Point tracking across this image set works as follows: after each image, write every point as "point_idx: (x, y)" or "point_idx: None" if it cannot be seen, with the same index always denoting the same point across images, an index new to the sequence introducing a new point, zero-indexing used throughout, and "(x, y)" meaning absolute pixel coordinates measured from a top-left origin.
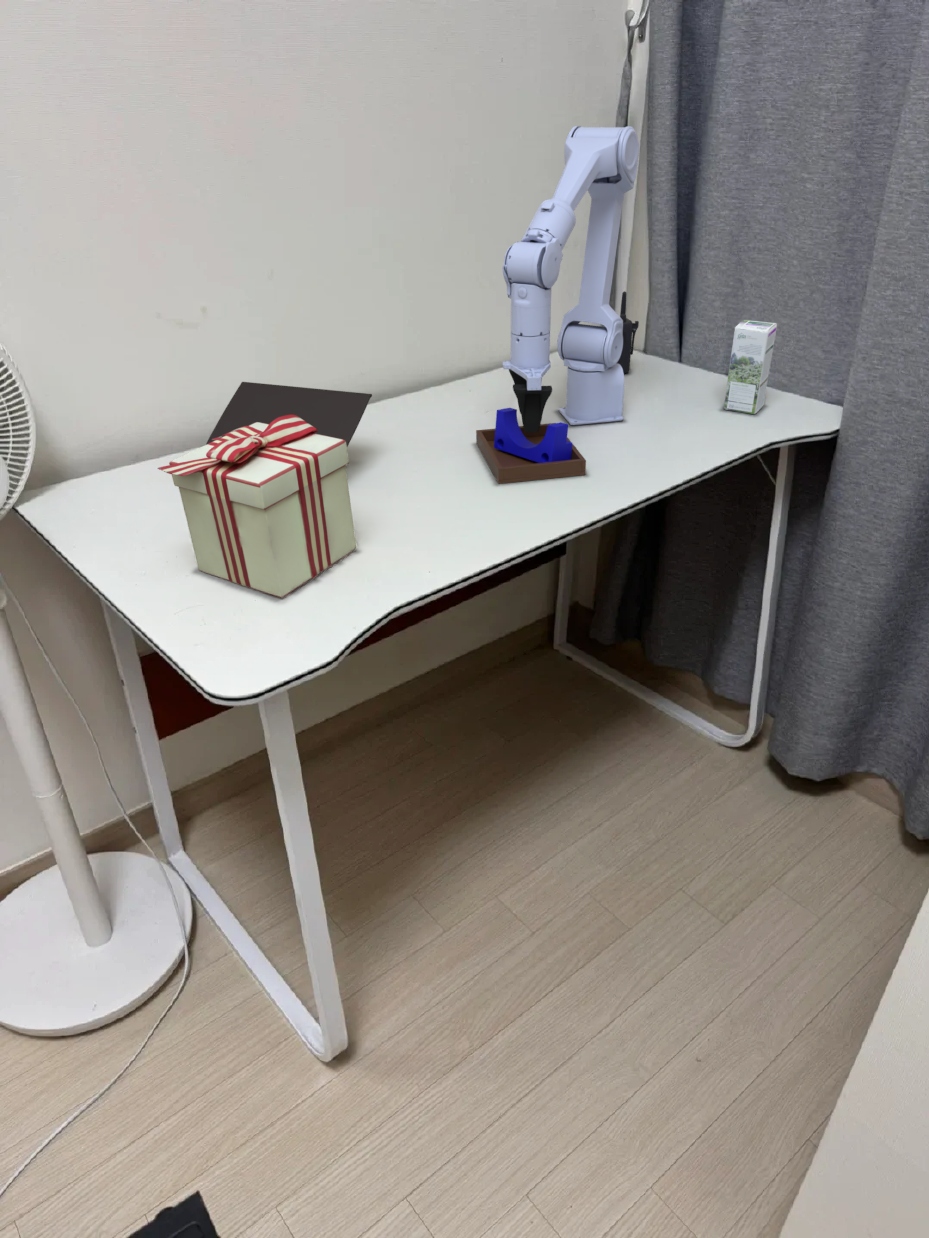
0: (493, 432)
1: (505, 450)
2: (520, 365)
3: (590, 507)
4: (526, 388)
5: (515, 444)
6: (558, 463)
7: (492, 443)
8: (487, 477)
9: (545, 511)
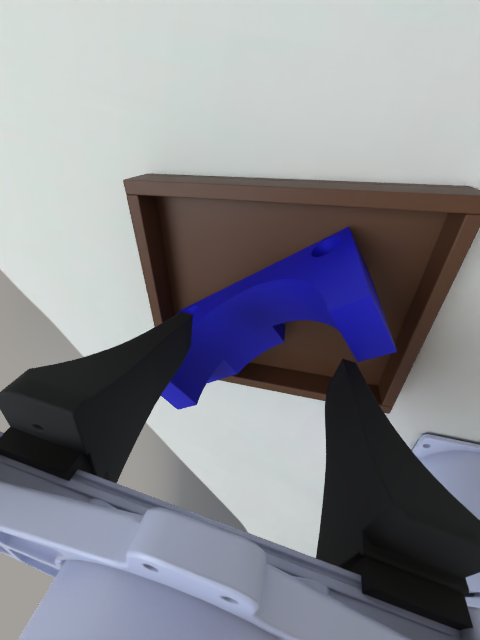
0: (443, 258)
1: (303, 250)
2: (61, 578)
3: (60, 306)
4: (21, 430)
5: (268, 280)
6: (154, 324)
7: (411, 236)
8: (192, 153)
9: (32, 233)
